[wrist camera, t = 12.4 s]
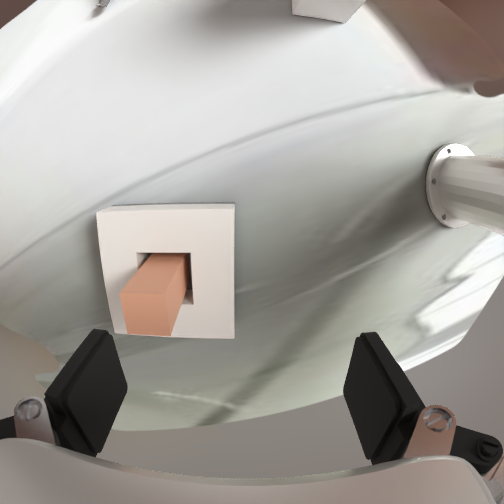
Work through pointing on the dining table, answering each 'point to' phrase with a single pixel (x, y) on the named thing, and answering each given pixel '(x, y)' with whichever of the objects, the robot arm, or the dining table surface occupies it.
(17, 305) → the dining table surface
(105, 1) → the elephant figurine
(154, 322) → the peg
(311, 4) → the milk carton
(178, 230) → the socket block
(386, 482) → the robot arm
